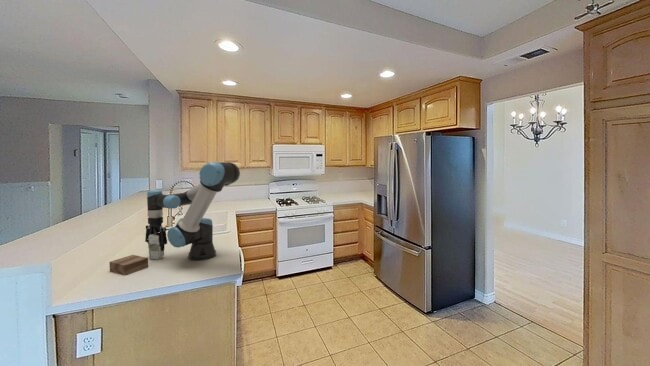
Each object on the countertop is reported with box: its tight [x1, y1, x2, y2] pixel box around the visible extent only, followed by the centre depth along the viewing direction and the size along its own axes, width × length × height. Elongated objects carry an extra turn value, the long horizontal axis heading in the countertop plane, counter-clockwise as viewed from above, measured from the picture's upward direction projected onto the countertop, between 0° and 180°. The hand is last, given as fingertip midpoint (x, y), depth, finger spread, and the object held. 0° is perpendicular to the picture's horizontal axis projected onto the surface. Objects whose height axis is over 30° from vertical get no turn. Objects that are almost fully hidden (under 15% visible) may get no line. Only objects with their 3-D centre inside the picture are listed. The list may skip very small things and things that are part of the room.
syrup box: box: [148, 233, 164, 261], centre depth 162 cm, size 6×6×14 cm
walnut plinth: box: [108, 254, 149, 276], centre depth 146 cm, size 12×12×5 cm
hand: (156, 254), depth 163 cm, fingers closed on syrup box, 8 cm apart
